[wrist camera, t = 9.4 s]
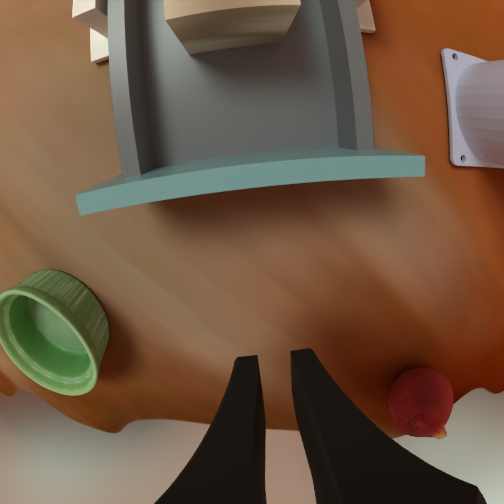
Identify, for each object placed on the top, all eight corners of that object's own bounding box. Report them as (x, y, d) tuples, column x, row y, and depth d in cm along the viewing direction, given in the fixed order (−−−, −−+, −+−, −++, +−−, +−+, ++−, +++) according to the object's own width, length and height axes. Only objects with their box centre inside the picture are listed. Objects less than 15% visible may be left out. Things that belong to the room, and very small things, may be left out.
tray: (369, 159, 15) (424, 176, 10) (128, 187, 15) (80, 215, 10) (333, -58, 9) (362, -105, 4) (112, -34, 9) (74, -74, 4)
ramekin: (52, 358, 21) (31, 391, 17) (7, 269, 18) (-25, 296, 13) (134, 358, 21) (118, 399, 17) (90, 251, 17) (57, 283, 13)
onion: (383, 402, 24) (411, 466, 17) (368, 372, 22) (401, 447, 15) (434, 372, 23) (470, 430, 16) (426, 337, 21) (472, 403, 14)
